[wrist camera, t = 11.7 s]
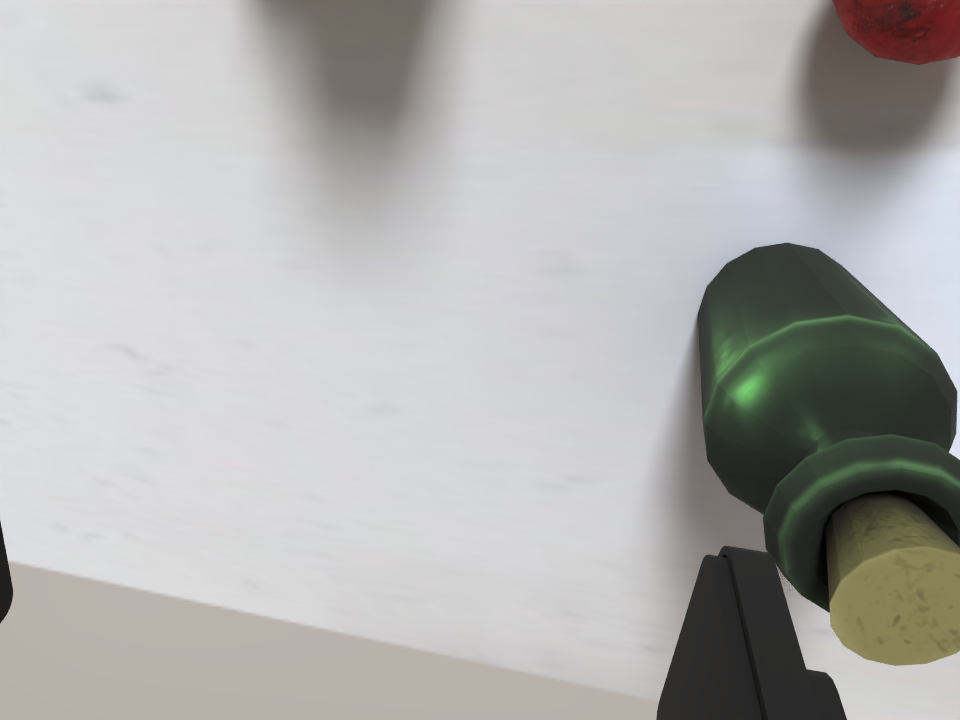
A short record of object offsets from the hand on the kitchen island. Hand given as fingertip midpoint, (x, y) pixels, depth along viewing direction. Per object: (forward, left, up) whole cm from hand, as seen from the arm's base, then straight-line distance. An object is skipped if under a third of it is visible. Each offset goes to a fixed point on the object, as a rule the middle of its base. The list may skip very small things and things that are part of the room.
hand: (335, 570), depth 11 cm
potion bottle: (+1, -14, -27) cm, 30 cm away
